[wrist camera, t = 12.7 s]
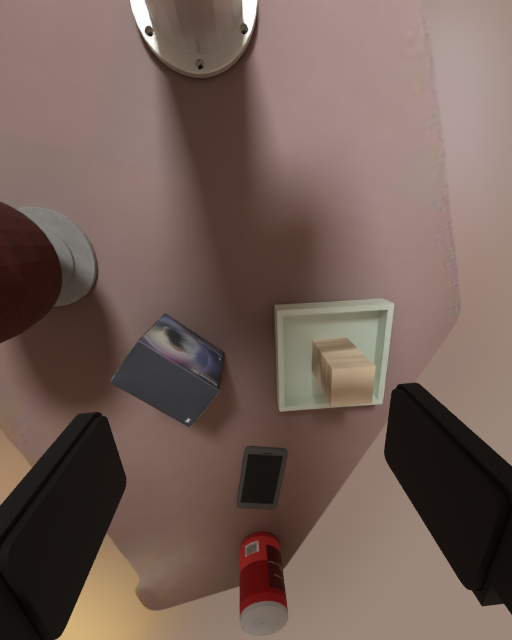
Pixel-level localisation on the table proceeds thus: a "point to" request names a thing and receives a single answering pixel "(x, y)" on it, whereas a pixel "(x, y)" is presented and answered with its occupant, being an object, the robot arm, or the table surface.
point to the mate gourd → (40, 266)
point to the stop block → (342, 371)
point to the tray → (327, 322)
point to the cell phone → (261, 477)
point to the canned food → (262, 585)
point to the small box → (172, 371)
